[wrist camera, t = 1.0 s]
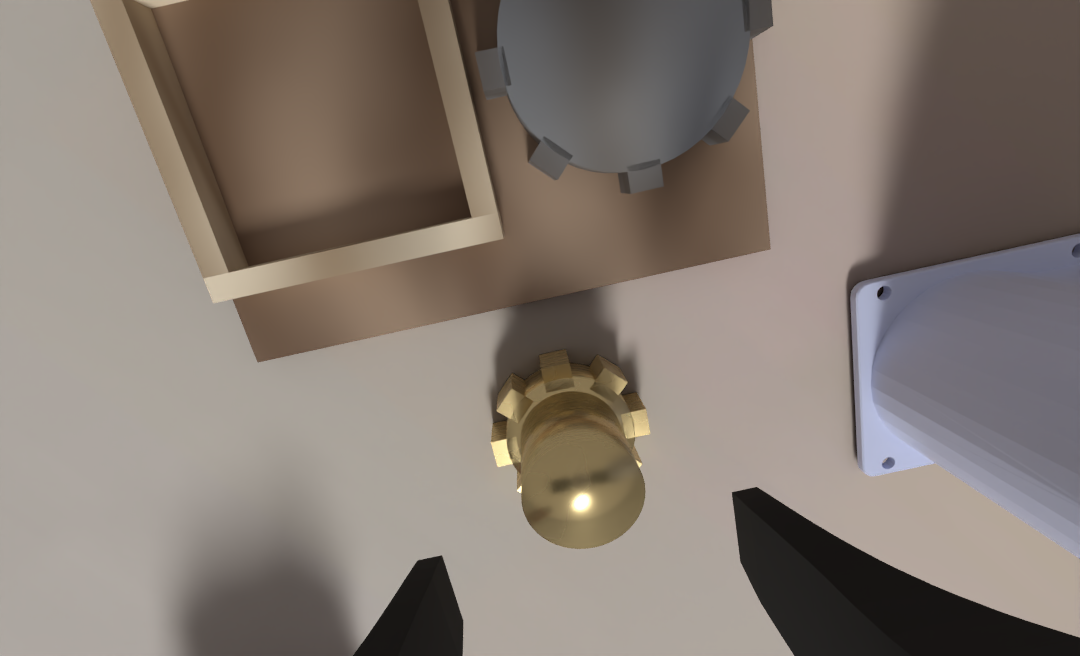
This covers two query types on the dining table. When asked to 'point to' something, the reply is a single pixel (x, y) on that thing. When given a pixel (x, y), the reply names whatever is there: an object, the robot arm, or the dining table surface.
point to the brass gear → (573, 449)
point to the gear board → (443, 150)
